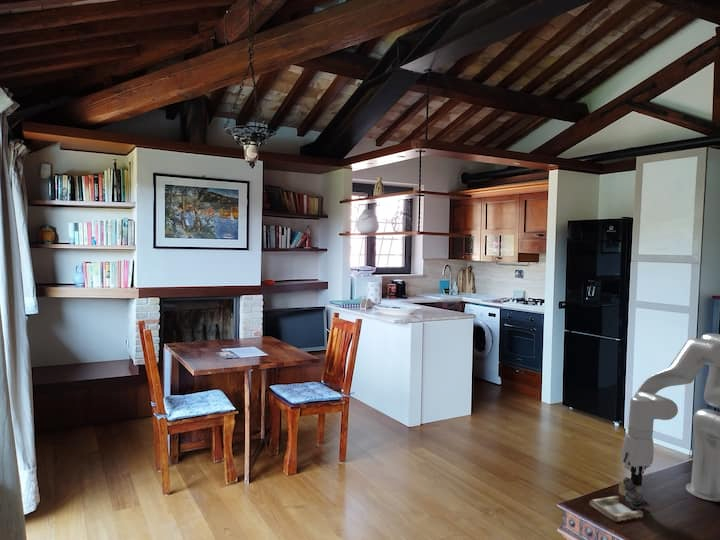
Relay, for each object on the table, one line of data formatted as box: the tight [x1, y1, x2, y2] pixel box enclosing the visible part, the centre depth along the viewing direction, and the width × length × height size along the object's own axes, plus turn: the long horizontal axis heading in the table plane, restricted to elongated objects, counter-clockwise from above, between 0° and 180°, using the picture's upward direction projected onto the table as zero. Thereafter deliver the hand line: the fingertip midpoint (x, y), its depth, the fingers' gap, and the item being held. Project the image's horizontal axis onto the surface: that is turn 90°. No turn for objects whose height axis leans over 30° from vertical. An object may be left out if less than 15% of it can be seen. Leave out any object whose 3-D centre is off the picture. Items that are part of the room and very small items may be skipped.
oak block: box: [618, 479, 642, 497], centre depth 192 cm, size 5×5×5 cm
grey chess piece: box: [622, 476, 646, 510], centre depth 183 cm, size 6×6×12 cm
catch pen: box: [589, 495, 644, 523], centre depth 181 cm, size 12×11×2 cm
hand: (636, 484), depth 183 cm, fingers closed
